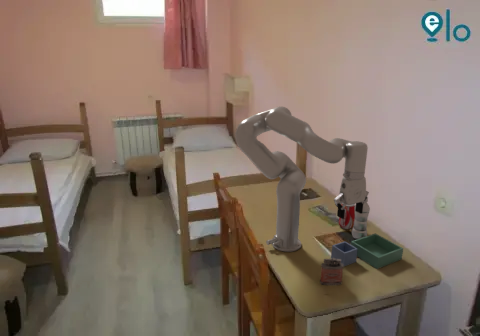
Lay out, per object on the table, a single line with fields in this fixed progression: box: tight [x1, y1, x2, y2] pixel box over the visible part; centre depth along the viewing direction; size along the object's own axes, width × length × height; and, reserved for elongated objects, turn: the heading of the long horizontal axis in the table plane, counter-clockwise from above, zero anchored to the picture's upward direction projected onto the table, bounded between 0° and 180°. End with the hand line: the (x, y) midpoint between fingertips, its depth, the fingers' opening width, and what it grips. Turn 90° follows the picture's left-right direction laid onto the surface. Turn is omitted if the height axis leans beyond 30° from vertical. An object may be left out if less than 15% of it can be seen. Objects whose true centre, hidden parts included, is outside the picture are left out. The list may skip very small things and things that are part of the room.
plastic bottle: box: [351, 196, 371, 240], centre depth 169 cm, size 6×7×20 cm
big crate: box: [350, 233, 404, 270], centre depth 158 cm, size 14×14×5 cm
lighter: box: [319, 258, 345, 286], centre depth 139 cm, size 8×3×10 cm, turn 92°
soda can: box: [338, 203, 356, 230], centre depth 181 cm, size 7×7×12 cm
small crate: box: [330, 241, 358, 267], centre depth 155 cm, size 7×7×6 cm
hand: (349, 214), depth 151 cm, fingers open, 9 cm apart
